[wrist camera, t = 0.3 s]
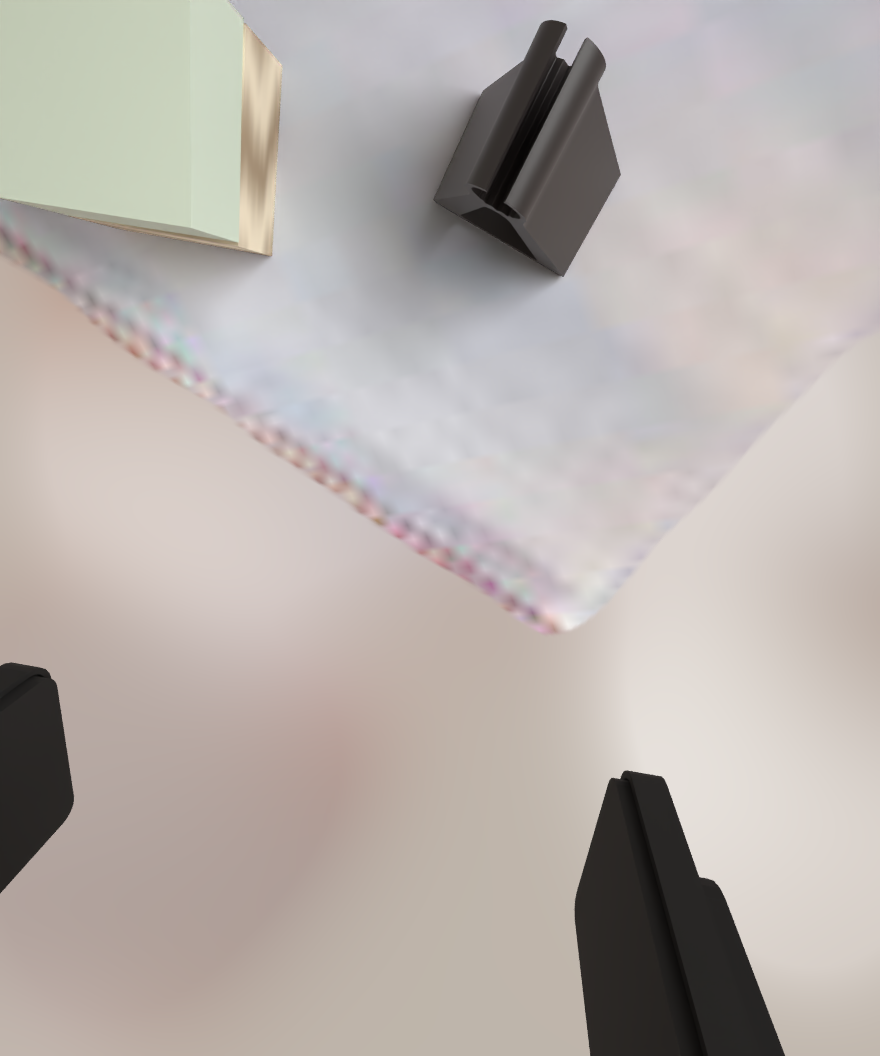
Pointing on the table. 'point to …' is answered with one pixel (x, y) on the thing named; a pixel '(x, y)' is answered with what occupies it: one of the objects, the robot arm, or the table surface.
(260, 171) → the tower base
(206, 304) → the table surface
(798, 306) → the table surface
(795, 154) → the table surface
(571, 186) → the phone stand
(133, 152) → the tower top
